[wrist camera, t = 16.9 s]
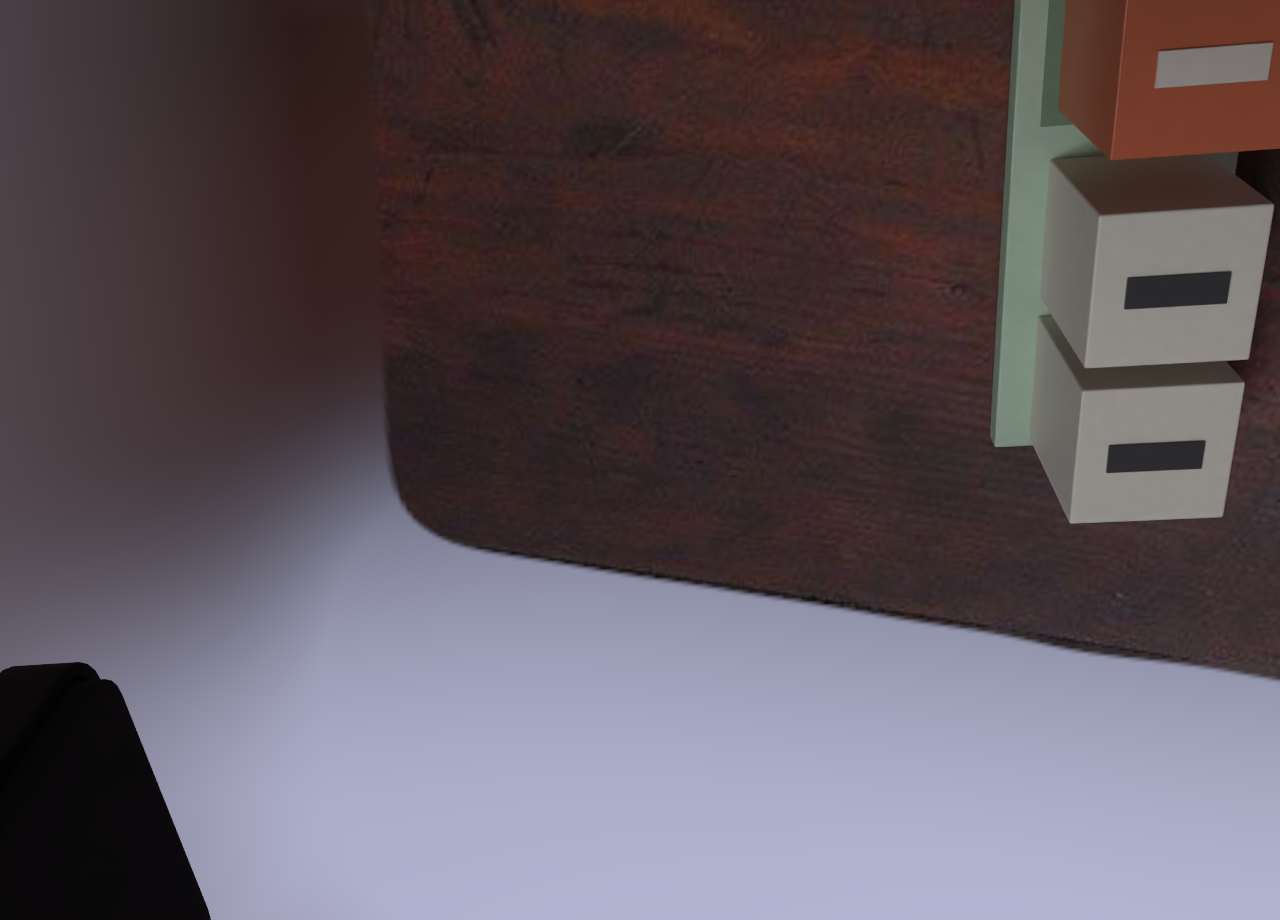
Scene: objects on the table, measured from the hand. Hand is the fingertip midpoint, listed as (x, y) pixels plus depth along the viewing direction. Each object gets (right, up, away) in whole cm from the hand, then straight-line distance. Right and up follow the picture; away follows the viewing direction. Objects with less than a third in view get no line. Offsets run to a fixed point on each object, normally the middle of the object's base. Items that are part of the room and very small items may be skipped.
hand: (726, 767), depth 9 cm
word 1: (+13, +10, +25) cm, 30 cm away
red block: (+12, +14, +22) cm, 28 cm away
